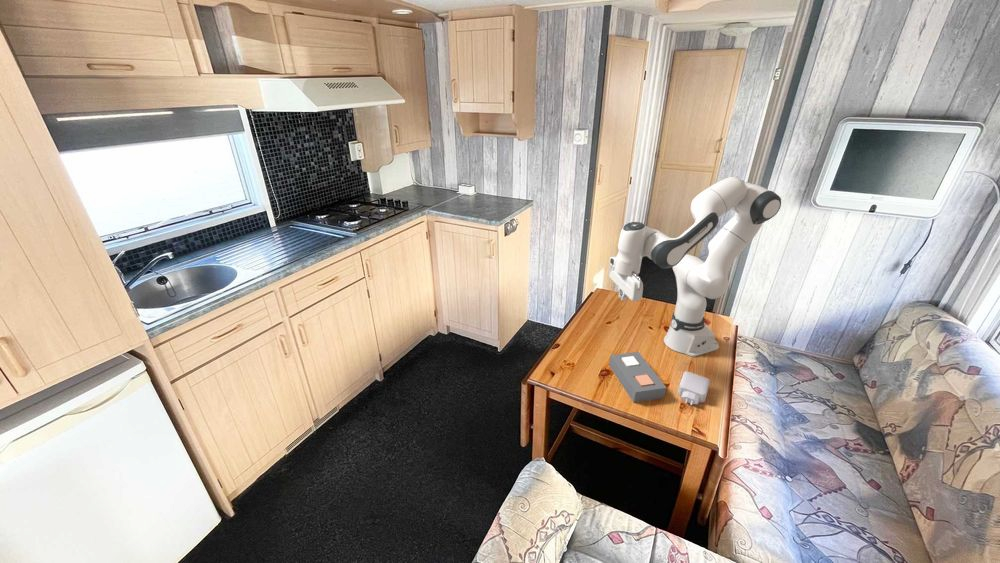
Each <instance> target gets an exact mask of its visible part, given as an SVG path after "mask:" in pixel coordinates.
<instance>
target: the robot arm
mask: <svg viewBox="0 0 1000 563" xmlns="http://www.w3.org/2000/svg"><path fill="white" fill-rule="evenodd" d="M781 206H782V198H781V196H780V195H779V194H777V193H776V192H775V191H773V190H768V189H767V188H765V187H763V186H760V185H759V184H756V183H755V184H754V183H752V182H748V181H747V182H746V181H745V180H743V179H742V178H739V177H737V176H729V177H726V178H724V179H721V180H720V181H717V182H715V183H714V184H712V185H710V186H709V187H707V188H705V189H703V190H702V191H701V192H699V193H697V195H696V196H695V197H694V198H693V199H692V201H691V203H690V213H691V216H692V218H693V220H694V223H693V224H692V225H691V226H689V227H688V228H687V229H686V230H685V231H683V232H682V233H681V234H680V235H679V236H678V237H670V236H668V235H667V234H666V233H663V232H662V231H660V230H658V229H656V228H652V227H648V226H647V225H646V224H645V223H643V222H640V221H639V222H638V221H632V222H628V223H626V224H625V225H623V226H622V228H621V231H620V233H619V234H620V235H619V238H618V243H617V249H618V251H617V254H616V256H610V257H609V266H608V268H609V269H608V277H609V278H610V280H612V282H613V283H614V284H615V286H617V288H618V298H619V300H621V301H622V302H626V301H627V299H629V300H630V301H631V302H637V301H641V300H642V299H643V293H644V292H643V291H644V283H643V281H642V279H641V276H639V274H640V272H641V267H642V266H641V265H642V260H643V258H644V257H647V258H648V259H649V260H652V262H653V263H654V264H655V265H656V266H658V267H659V268H661V269H670V268H672V270H673V273H674V276H675V282H676V288H677V296H676V297H677V299H676V304H675V307H674V308H675V309H674V311H673V313H672V316H671V321H670V325H669V327H668V330H667V332H666V334H665V336H664V337H663V343H664V344H665V345H666V346H667V347H668V348H669V349H671V350H672V351H675V352H678V353H681V354H684V355H687V356H690V357H693V358H695V357H699V356H701V355H704V354H708V353H711V352H714V351H717V350H719V349H720V345H719V343H718V341H717V340H716V337H715V332H714V331H713V330H712V329H711V328H710V327H709V325H711V324H712V322H711V320H709V319H708V318H705V316H704V315H705V313H706V308H707V299H710V300H716V299H718V298H721V297H722V296H723V295H725V293H726V292H727V290H728V289H729V280H728V276H729V271H730V268H731V266H732V265H733V262H734V261H735V259H737V257H738V256H739V255H740V254H741V253H742V252H743V251H744V249H745V248H746V247H747V246H748V245H749V243H750V244H751V241H753V239H754V238H755V237H756V235H757V233H758V232H759V230H760V229H761V227H762V225H763V224H764V223H765V222H767V221H769V220H771V219H772V218H774V217H775V216H776V215H777V214H778V212H779V211H780V210H781ZM730 211H734V212H735V213H734V216H732V217H731V218H730V219H729V220H727V222H726V223H725V224H723V226H722V227H721V228H720V229H719V230H718V231H717V233H715V235H714V236H713V237H712V238H711V239H710V240H709V242H708V243H707V250H708V255H707V257H706V259H705V261H704V260H702V259H701V258H699V257H698V256H695V255H692V254H688V253H689V252H690V251H691V250H692V249H694V248H695V246H697V245H698V244H699V243H700V242H702V241H703V240H704V239H706V237H707V236H709V234H711V233H712V232H713V231H714V230H715V229H716V227H717V226H718V224H719V220H720V218H721V217H723V216H724V215H726V214H728V213H729V212H730ZM706 298H707V299H706Z"/></svg>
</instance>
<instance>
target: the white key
mask: <svg viewBox="0 0 1000 563" xmlns="http://www.w3.org/2000/svg"><path fill="white" fill-rule="evenodd" d="M621 360H622V361H623V362H624V364H625V365H626V367H632V366H639V363H638V362H637V360H636V359H635V358H634V356H630V357H623V358H621Z"/></svg>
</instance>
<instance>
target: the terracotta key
mask: <svg viewBox="0 0 1000 563" xmlns="http://www.w3.org/2000/svg"><path fill="white" fill-rule="evenodd" d="M635 379H636V381H637V382H638V384H639V385H640V386H641V387H644V386H651V385H654V383H653V381H652V380H651V379H650V377H649V376H648V375H647V374H646V375H639V376H635Z"/></svg>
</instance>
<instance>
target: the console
mask: <svg viewBox="0 0 1000 563" xmlns="http://www.w3.org/2000/svg"><path fill="white" fill-rule="evenodd" d="M609 356H610V358H609V362H608V365H609V367H610V369H611V370H612V372H613V373H614V374H613V375H615V377H616V378H617V379H618V381H619V383H620V384H621V386H622V387H623V389H624V390H625V392H626V394H627V395H628V397H629V398H630V399H631V401H632V402H633V403H639V402H646V401H653V400H660V399H665V396H666V391H667V386H666V385H665V384H664V383H663V381H662V380H661V378H660V377H659V376H658V375H657V373H655V371H654V370H653V368H651V366H650V365H649V363H648V362H647V361H646V359H644V357H643V355H642V354H641V353H640V352H639V351H635V352H627V353H619V354H618V353H617V354H610V355H609ZM630 356H634V358H635V359H636V360H637V362H638V363H639V366H632V367H626V365H625V364H624V362H623V361H622V360H621V358H623V357H630ZM646 374H647V375H648V376H649V377H650V379H651V380H652V381H653V383H654V385H651V386H644V387H641V386H640V385H639V384H638V382H637V381H636V379H635V376H639V375H646Z"/></svg>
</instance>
